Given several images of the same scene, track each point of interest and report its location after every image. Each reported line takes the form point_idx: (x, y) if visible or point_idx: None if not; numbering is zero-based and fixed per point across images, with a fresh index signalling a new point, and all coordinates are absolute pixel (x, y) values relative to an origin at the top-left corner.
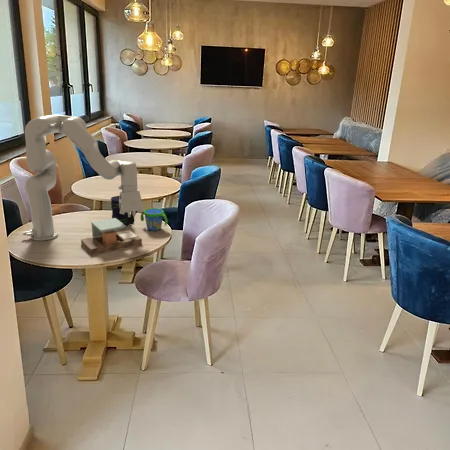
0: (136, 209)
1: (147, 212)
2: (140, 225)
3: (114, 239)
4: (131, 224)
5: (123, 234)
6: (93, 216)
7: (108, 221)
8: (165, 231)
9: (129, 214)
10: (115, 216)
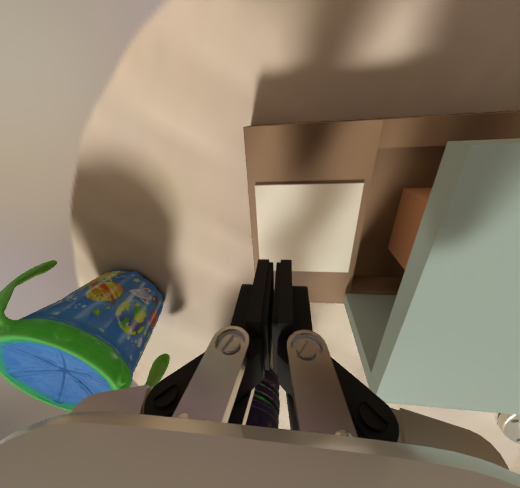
0: (126, 460)
1: (102, 384)
2: (183, 343)
3: None
4: (284, 260)
5: (322, 259)
6: None
7: (497, 374)
8: (83, 244)
9: (307, 374)
10: (270, 422)
